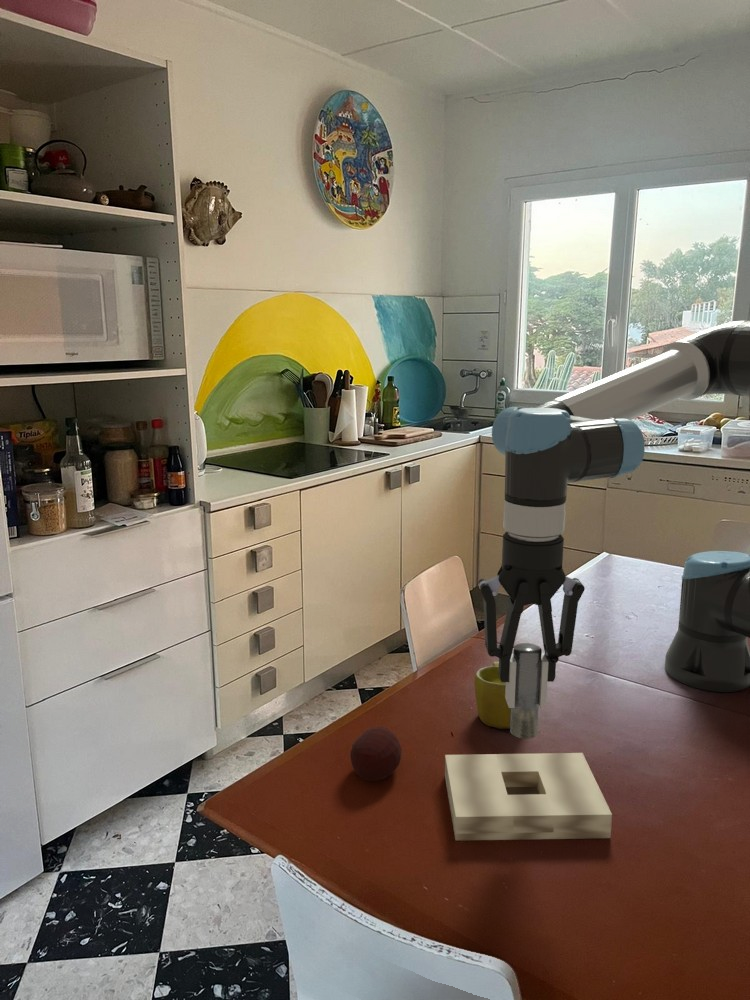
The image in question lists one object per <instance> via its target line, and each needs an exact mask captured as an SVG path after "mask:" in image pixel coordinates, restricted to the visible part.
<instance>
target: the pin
mask: <svg viewBox="0 0 750 1000" xmlns="http://www.w3.org/2000/svg"><path fill="white" fill-rule="evenodd" d="M542 649H543V648H541V646H539V645H537V644H535V643H529V642H521V643H517V644H514V647H513V651H512V653H513V657H514V658H515V660H516V685H515V707H514V708H511V720H510V729H509V732H510V733H511V735H513V736H514V737H516V738H519V739H523V740H525V739H527V740H528V739H533V738H535V737H536V736H537V735H538V729H539V711H540V710H539V709H540V706H539V691H540V672H541V655H542V653H543V651H542Z"/></svg>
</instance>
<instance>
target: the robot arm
mask: <svg viewBox="0 0 750 1000" xmlns="http://www.w3.org/2000/svg"><path fill="white" fill-rule="evenodd" d="M720 394H721V395H731V396H733V395H734V396H739V397H740V396H741V397H748V399H749V400H748V401H749V402H748V407H749V408H748V411H749V415H750V319H741V320H735V321H730V322H726V323H722V324H719V325H715V326H712V327H709V328H707V329H704V330H700V331H698V332H696V333H692V334H690V335H688V336H685V337H682V338H681V339H677V340H676V341H673V342H671V343H669V344H668V345H666V346H665V347H664V348H663V350H661V353H660V354H658V355H656V356H654V357H653V356H652V357H651V358H648V359H646V360H644V361H642V362H639V363H637V364H634V365H632V366H629V367H627V368H625V369H622V370H620V371H617V372H615V373H612V374H611V375H609V376H608V375H607V376H605V377H604V378H601V379H598V380H596V381H593V382H591V383H588V384H587V385H585V386H582V387H579V388H577V389H575V390H574V389H573V391H570V392H567V393H565V394H562V395H560V396H558V397H555V398H553V399H550V400H547V401H545V402H542V403H541V404H538V405H535V406H533V407H527V406H521V405H519V406H509V407H507V408H504V409H503V410H501V412H499V413H498V415H496V417H495V419H494V422H493V424H492V427H491V437H492V443H493V446H494V447H495V449H496V450H497V452H499V453H500V454H501V455H503V456H505V459H504V461H505V462H504V463H505V465H504V466H505V467H504V469H505V470H504V472H505V474H504V504H503V505H504V506H503V524H502V525H503V527H502V528H503V530H505V532H504V533H503V535H502V551H501V552H502V553H501V566H500V568H499V570H498V571H497V575H496V576H493V577H491V578H489V579H485V578H480V579H479V580H478V582H477V583H478V584H477V585H478V587H479V589H480V593H481V594H482V597H483V622H484V645H485V649H486V651H487V654H488V656H489V657H496V658H498V661H499V671H498V674H499V677H500V679H501V682H506V690H505V699H506V702H507V704H508V707H509V708H514V707H515V685H516V660H515V658H514V657H513V652H514V646H515V643H516V637H517V633H518V630H519V625H520V620H521V617H522V614H523V611H524V607H525V606H528V605H536V606H537V608H538V609H537V610H538V614H539V623H540V631H541V638H542V645H543V650H544V652H542V655H541V672H540V691H539V709H540V708H541V709H542V708H544V709H545V708H546V709H547V697H548V683H549V682H550V683H551V682H552V683H553V682H555V679H556V669H557V667H556V666H557V663H558V662H559V659H560V657H563V656H565V657H568V656H570V655H572V652H573V651H572V649H573V642H574V635H575V629H576V620H577V613H578V607H579V602H580V600H581V598H582V596H583V594H584V592H585V590H586V589H585V586H584V584H583V583H582V581H580V579H579V578H578V577H574V578H571V577H569V576H567V575H566V574H565V570H564V569H563V560H564V540H565V539H564V536H562V534H563V533H564V532H565V529H566V528H565V526H566V525H565V523H566V505H567V504H566V502H567V494H568V484H569V483H577V482H584V481H593V480H600V479H608V478H609V479H614V478H616V477H619V476H623V475H624V476H625V475H628V474H630V473H633V472H634V471H635V470H637V469H638V468H639V466H640V465H641V464H642V462H643V460H644V457H645V449H646V448H645V447H646V441H645V437H644V435H643V432H642V430H641V428H640V427H639V426H638V425H637V424H636V423H635V422H633V420H635V419H637V418H639V417H641V416H644V415H646V414H648V413H649V412H653V411H655V410H657V409H659V408H661V407H664V406H665V405H666V406H667V405H668V404H670V403H673V402H675V401H678V400H679V399H680V400H686V401H691V400H694V399H698V398H699V397H701V396H706V395H720ZM500 586H501V587H502V588H503V590H504V591H505V592H506V593H507V594H508V597H509V598H508V605H507V606H508V607H507V611H506V614H505V619H504V623H503V627H502V632H501V636H500V642H499V644H498V635H497V633H498V631H497V606H496V605H497V604H496V600H495V597H496V596H498V594H499V587H500ZM561 587H562V591H563V593H564V595H563V599H562V601H563V602H562V606H561V608H562V609H561V614H560V625H559V631H558V638H557V642H556V635H555V627H554V620H553V614H552V613H553V607H552V598H553V597H554V596H555V594H556V593H557V592H558V591H559V590H560V588H561ZM680 590H681V591H680V603H679V616H678V626H677V627H678V628H677V631H676V633H675V634H674V637H673V639H672V640H671V643H670V645H669V647H668V649H667V651H666V654H665V659H664V669H665V671H666V673H667V674H668V675H669V676H670V677H671V678H673V679H674V680H675V681H678V682H680V683H682V684H684V685H686V686H690V687H692V688H694V689H697V690H699V689H700V690H702V691H703V690H704V691H708V692H709V691H710V692H716V693H717V692H718V693H731V692H738V691H739V692H740V691H743V690H745V689H747V688H749V687H750V647H749V644H748V639H750V554H748V553H745V552H739V551H733V550H732V551H729V550H710V551H702V552H701V551H700V552H696V553H694V554H691V555H690V556H689V557H687V558H686V559H685V562H684V566H683V573H682V575H681V589H680Z"/></svg>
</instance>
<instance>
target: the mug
mask: <svg viewBox="0 0 750 1000" xmlns="http://www.w3.org/2000/svg"><path fill="white" fill-rule="evenodd" d="M498 671H499V660H498V661H493V663H492V665H490V666H485V667H481V668H479V669H478V670H477V671H476V673H475V674H474V675H475V676H474V691H475V700H476V702H475V703H476V710H477V715H478V717H479V719H480V721H481V722H482V723H483V725H485V726H488V727H489V728H494V729H499V730H510V720H511V708H509V707H508V704H507V702H506V699H505V690H506V682H501V679H500V677H499V674H498Z"/></svg>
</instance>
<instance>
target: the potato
mask: <svg viewBox="0 0 750 1000" xmlns="http://www.w3.org/2000/svg"><path fill="white" fill-rule="evenodd" d="M401 759H402V747H401V743H400V741H399V739H398V736H397V735H396V734H395V733H394V732H393V731H391V730H390V729H389V728H386V727H383V726H374V727H371V728H369V729H367V730H365V731H364V732H363V733H361V734H360V735H359V737H357V738H355V740H354V741H353V743H352V746H351V749H350V762H351V765H352V768H353V770H354V772H355V773H356V775H357V776H358V777H359V778H361V779H363V780H364V781H367V782H374V781H375V782H376V781H381V780H384V779H386V778H388V777H390V776H391V775H392V774H394V772H395V771H396V769H397V768H398V767H399V765H400V763H401Z"/></svg>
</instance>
